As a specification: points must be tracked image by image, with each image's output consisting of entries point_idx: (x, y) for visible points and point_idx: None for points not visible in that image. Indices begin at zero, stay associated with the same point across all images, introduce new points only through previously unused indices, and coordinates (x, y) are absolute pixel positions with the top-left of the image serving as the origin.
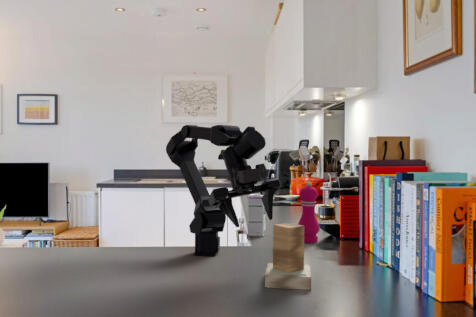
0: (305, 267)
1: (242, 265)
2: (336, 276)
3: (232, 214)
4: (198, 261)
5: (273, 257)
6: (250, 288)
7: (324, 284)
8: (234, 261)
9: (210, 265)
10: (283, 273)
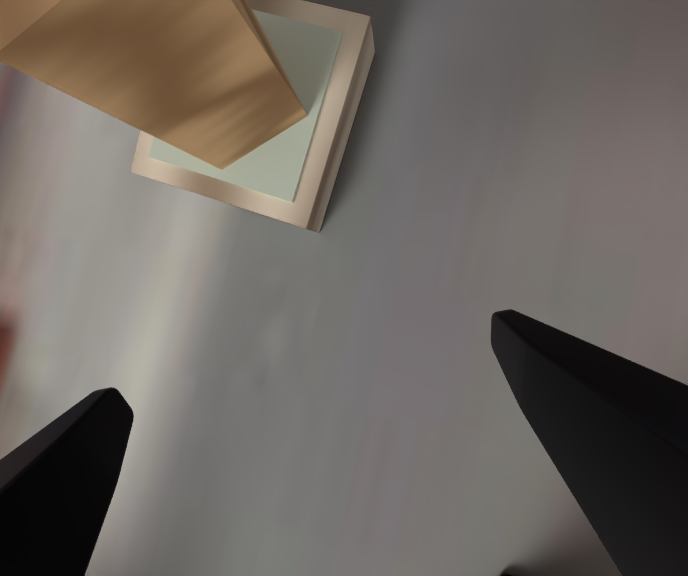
0: None
1: (398, 387)
2: (72, 173)
3: (662, 381)
4: None
5: (289, 88)
6: (437, 44)
7: None
8: (421, 461)
9: None
10: (282, 16)
